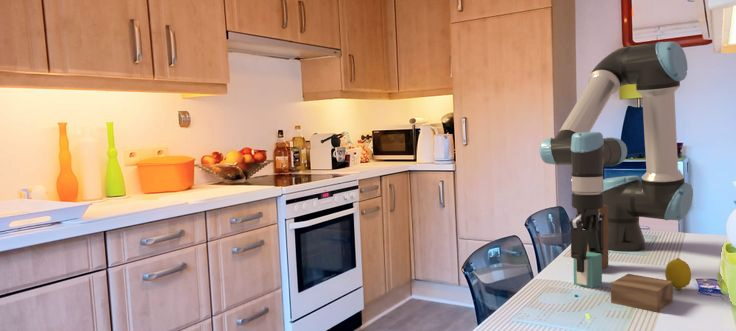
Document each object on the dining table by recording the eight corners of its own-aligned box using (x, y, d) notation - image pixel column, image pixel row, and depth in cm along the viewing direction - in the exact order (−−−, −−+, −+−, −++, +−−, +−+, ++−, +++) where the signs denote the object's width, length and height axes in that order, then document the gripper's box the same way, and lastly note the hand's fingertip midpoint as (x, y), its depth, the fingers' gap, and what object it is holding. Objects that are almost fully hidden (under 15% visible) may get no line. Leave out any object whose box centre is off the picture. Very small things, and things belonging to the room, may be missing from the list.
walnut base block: (628, 293, 133) (628, 273, 133) (672, 302, 126) (672, 281, 125) (611, 304, 126) (610, 283, 126) (657, 313, 119) (657, 291, 119)
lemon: (660, 288, 135) (660, 257, 134) (676, 285, 137) (676, 254, 136) (679, 294, 130) (680, 262, 129) (696, 291, 132) (696, 259, 131)
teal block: (583, 280, 144) (583, 250, 144) (601, 284, 140) (601, 253, 140) (573, 284, 141) (573, 254, 140) (592, 288, 137) (592, 257, 137)
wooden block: (594, 273, 150) (593, 209, 149) (578, 270, 154) (578, 207, 152) (608, 266, 156) (608, 204, 155) (593, 264, 160) (593, 203, 158)
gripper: (590, 187, 148) (591, 271, 149) (555, 195, 136) (556, 286, 138) (618, 189, 142) (618, 277, 144) (583, 197, 130) (584, 292, 132)
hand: (587, 281), depth 141 cm, fingers closed on teal block, 5 cm apart
